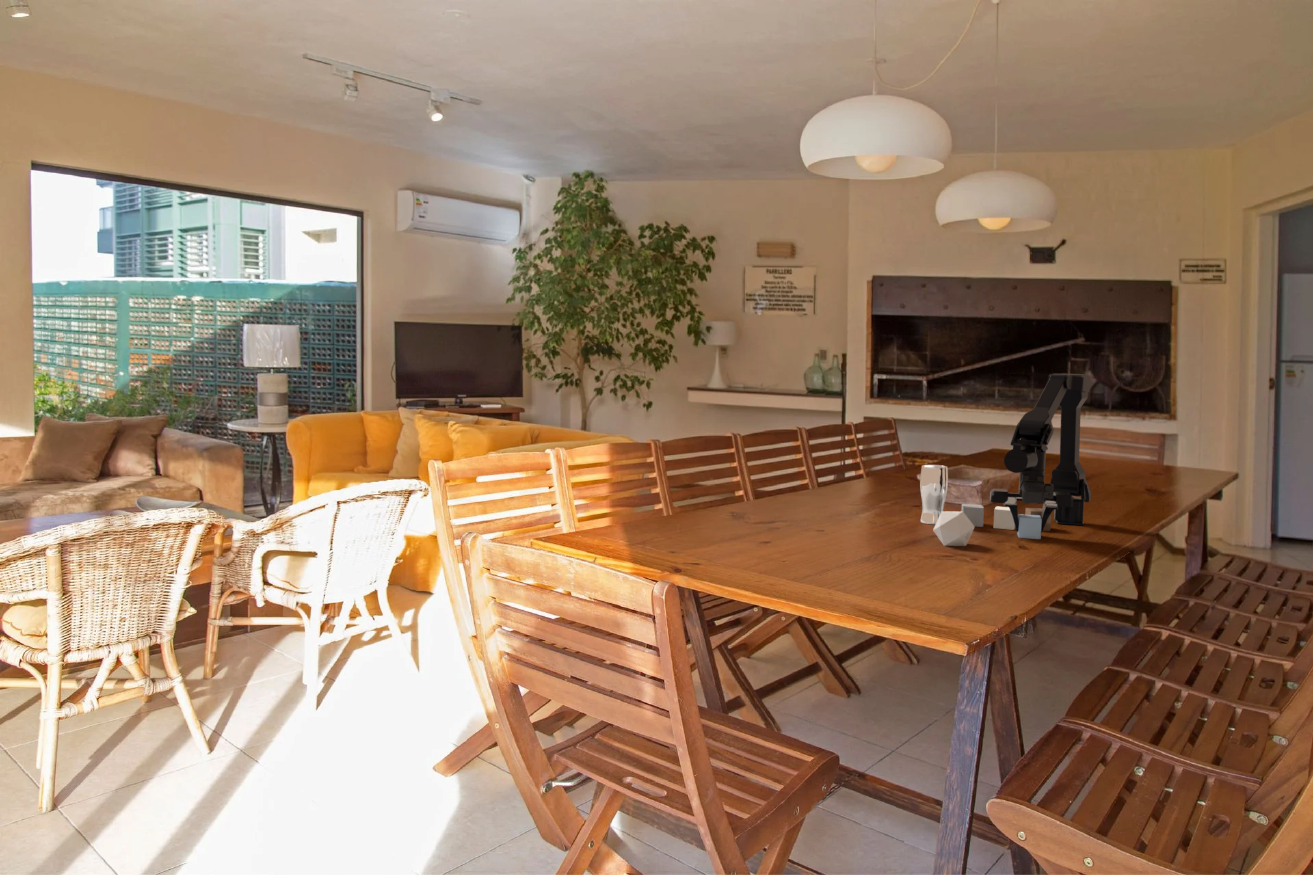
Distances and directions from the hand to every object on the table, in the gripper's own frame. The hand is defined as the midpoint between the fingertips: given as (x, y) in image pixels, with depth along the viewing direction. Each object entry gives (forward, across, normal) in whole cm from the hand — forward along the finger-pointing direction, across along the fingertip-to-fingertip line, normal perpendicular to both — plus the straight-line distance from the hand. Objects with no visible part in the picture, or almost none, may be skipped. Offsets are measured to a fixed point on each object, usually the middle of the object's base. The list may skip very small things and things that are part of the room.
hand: (1028, 532), depth 233 cm
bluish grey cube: (+1, 0, 0) cm, 1 cm away
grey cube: (+1, -13, +12) cm, 18 cm away
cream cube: (+1, -5, +11) cm, 12 cm away
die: (+1, -18, -17) cm, 25 cm away
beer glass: (+1, -23, +11) cm, 26 cm away
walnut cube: (+1, +3, +12) cm, 12 cm away
